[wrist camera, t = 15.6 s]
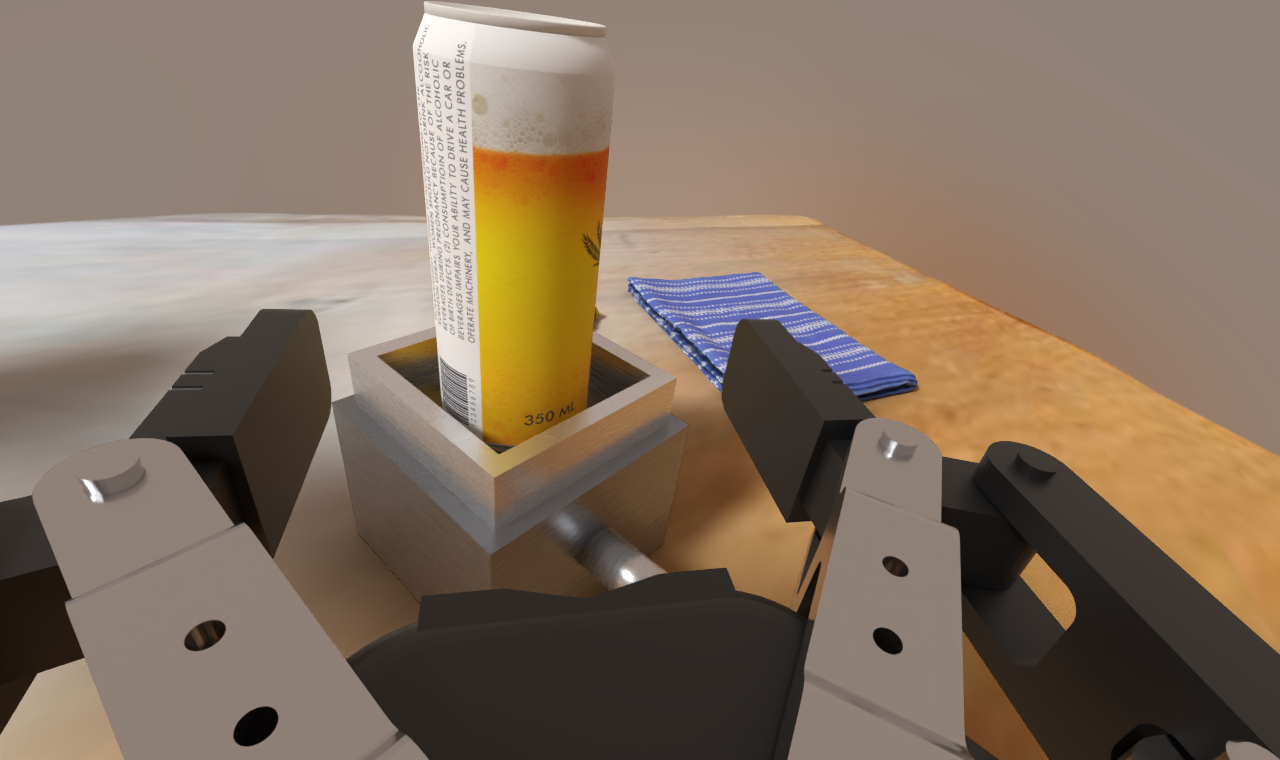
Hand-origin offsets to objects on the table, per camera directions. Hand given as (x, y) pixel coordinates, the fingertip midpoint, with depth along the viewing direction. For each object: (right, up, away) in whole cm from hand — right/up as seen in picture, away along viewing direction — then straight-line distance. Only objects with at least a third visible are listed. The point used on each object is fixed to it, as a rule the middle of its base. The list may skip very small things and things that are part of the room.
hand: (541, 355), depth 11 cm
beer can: (-4, -2, +14) cm, 15 cm away
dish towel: (+13, +3, +42) cm, 44 cm away
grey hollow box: (-3, -10, +17) cm, 20 cm away
